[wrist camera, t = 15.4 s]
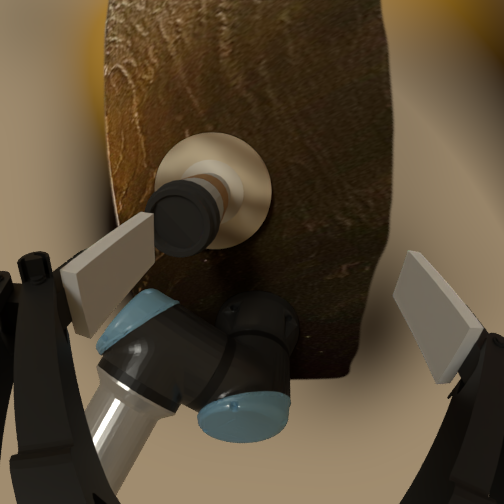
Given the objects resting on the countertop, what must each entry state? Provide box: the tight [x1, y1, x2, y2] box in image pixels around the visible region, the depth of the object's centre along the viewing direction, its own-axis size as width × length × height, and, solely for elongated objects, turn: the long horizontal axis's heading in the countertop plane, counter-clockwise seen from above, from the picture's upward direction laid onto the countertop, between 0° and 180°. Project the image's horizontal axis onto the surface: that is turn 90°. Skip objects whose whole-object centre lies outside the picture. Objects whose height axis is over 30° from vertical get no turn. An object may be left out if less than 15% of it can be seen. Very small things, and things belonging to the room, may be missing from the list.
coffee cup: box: [144, 173, 230, 257], centre depth 36 cm, size 8×8×15 cm
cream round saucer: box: [155, 133, 272, 249], centre depth 43 cm, size 18×18×2 cm
